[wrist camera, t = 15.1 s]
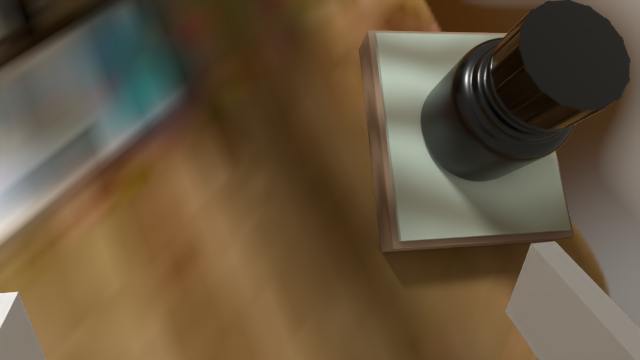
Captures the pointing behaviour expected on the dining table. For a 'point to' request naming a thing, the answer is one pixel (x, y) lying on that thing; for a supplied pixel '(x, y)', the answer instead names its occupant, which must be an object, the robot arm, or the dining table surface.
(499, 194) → the mat platform
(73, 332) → the dining table surface
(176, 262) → the dining table surface
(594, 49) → the ink bottle
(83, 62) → the dining table surface
